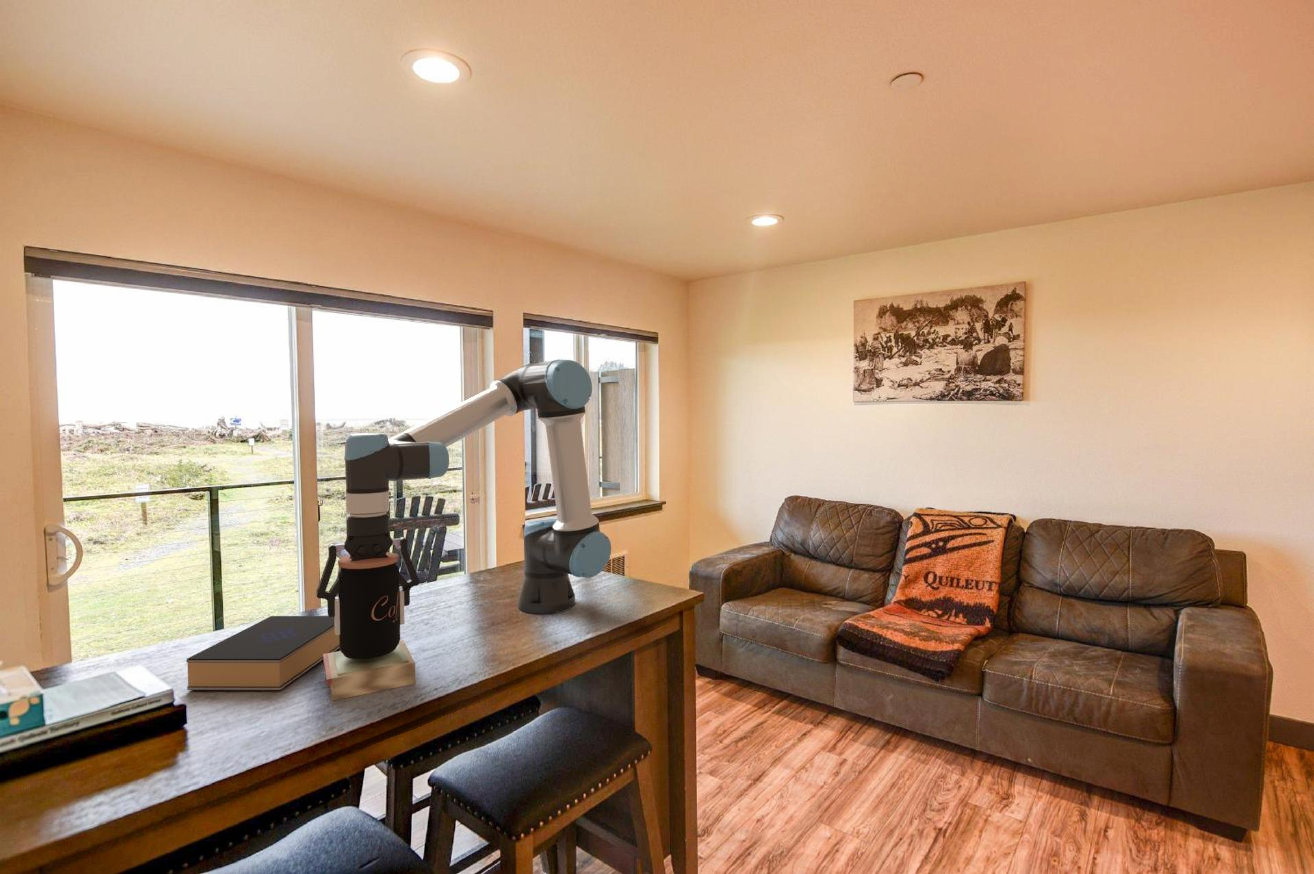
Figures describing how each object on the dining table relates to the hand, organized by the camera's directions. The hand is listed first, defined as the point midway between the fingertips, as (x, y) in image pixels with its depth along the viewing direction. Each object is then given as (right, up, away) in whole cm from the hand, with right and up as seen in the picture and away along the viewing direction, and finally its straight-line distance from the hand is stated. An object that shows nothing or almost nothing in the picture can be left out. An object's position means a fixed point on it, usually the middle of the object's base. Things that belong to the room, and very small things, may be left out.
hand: (370, 627), depth 120 cm
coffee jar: (0, -5, 0) cm, 5 cm away
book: (-22, -10, +7) cm, 26 cm away
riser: (0, -10, 0) cm, 10 cm away
